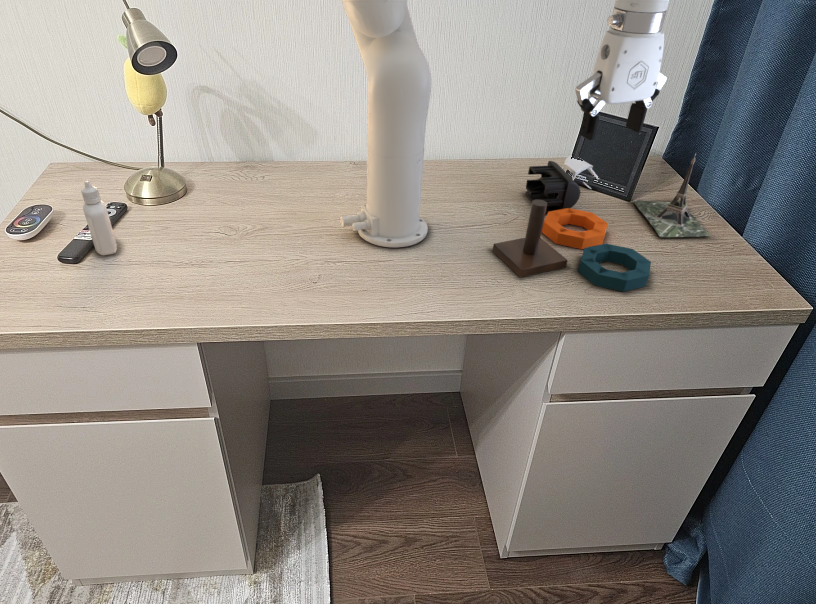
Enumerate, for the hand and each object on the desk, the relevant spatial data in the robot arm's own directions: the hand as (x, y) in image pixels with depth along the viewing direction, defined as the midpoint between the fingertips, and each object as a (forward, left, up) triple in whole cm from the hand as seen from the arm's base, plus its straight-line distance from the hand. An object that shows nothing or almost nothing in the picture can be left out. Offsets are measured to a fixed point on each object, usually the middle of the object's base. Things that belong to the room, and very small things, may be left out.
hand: (610, 133), depth 103 cm
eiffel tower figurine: (+17, -3, -18) cm, 25 cm away
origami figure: (+9, +17, -18) cm, 26 cm away
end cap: (-1, +11, -18) cm, 21 cm away
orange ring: (-4, -1, -18) cm, 18 cm away
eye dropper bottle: (-83, +22, -18) cm, 87 cm away
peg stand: (-17, -6, -18) cm, 25 cm away
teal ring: (-6, -14, -18) cm, 24 cm away
